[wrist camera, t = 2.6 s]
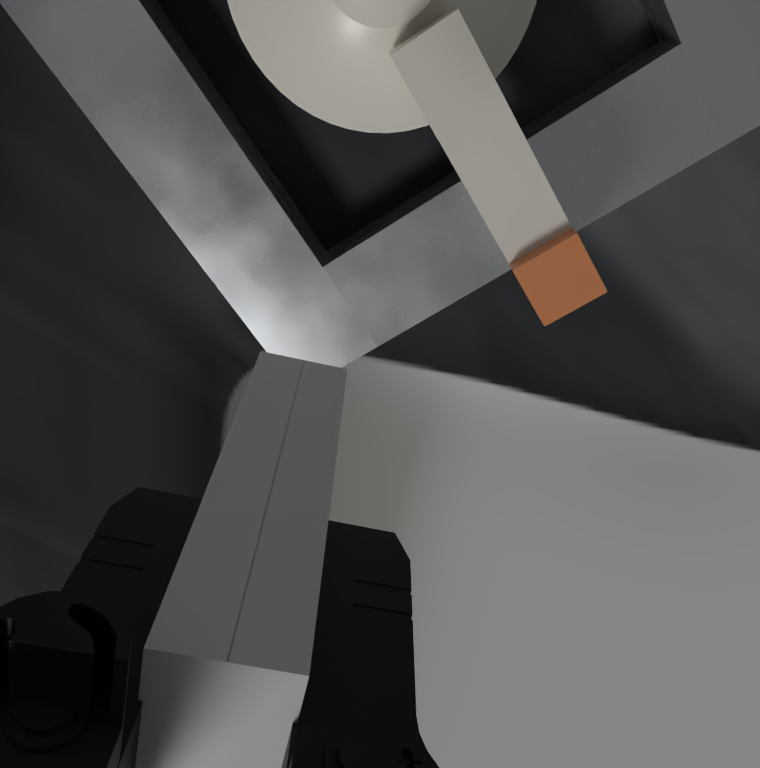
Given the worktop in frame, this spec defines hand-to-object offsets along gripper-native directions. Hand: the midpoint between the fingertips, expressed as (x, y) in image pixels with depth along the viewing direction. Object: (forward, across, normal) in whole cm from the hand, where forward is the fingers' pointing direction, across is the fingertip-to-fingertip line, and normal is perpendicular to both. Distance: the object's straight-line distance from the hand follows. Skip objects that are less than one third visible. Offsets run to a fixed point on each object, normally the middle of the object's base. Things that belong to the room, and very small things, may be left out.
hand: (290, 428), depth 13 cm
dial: (+15, +2, +6) cm, 16 cm away
